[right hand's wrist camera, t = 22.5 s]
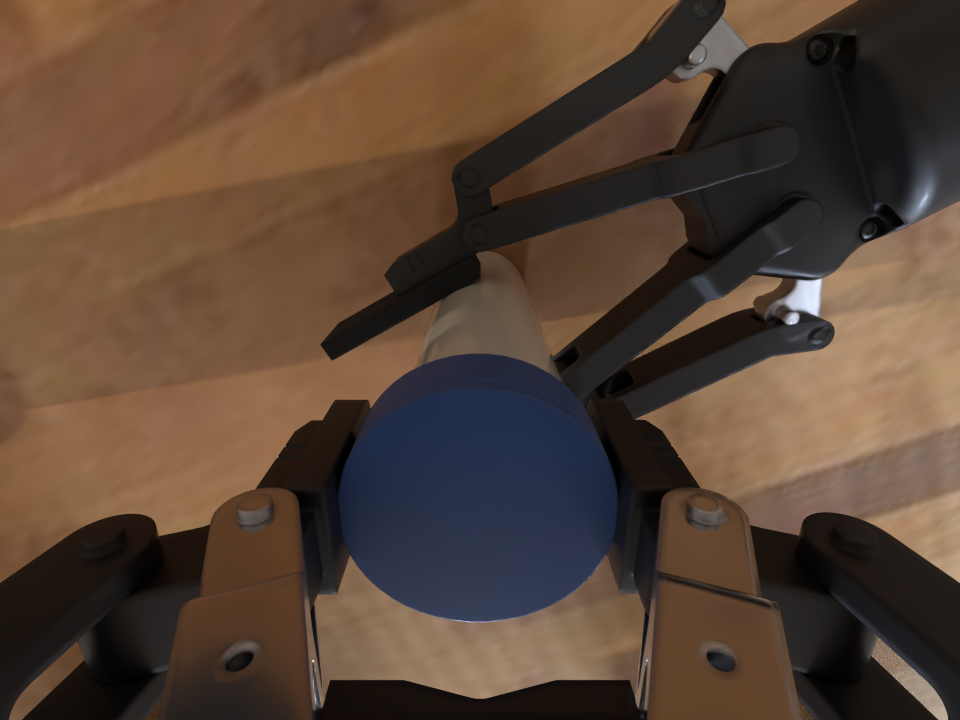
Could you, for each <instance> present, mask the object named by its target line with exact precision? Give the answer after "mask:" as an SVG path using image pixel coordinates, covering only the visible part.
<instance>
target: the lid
mask: <svg viewBox="0 0 960 720" xmlns="http://www.w3.org/2000/svg"><path fill="white" fill-rule="evenodd" d="M618 499H619V491H618V487H617V482H616V477H615V474H614V472H613V469H612V466H611V464H610V461H609V459H608V456H607V454H606V452H605V450H604V447H603V445H602V443H601V440H600V438H599V436H598V433H597V431H596V429H595V427H594V424H593V422H592V420H591V418H590V416H589V414H588V412H587V411H586V409H585V407H584V406H583V404H582V403H581V402H580V400H579V399H578V398H577V397H576V395H575V394H574V393H573V392H572V391H571V390H570V389H569V388H568V387H567V386H566V385H565V384H564V383H562V382H561V381H560V380H558V379H557V378H556V377H554V376H553V375H551V374H550V373H548V372H546V371H544V370H543V369H541V368H539V367H537V366H535V365H532V364H530V363H527V362H525V361H522V360H519V359H515V358H511V357H507V356H503V355H495V354H462V355H454V356H449V357H445V358H441V359H437V360H434V361H431V362H429V363H426V364H424V365H421V366H419V367H417V368H415V369H414V370H412V371H410V372H408V373H406V374H405V375H403V376H402V377H401V378H399V379H398V380H397V381H395V382H394V383H393V384H392V385H391V386H390V387H389V388H388V389H387V390H385V391H384V392H383V393H382V394H381V396H380V397H379V398H378V400H377V401H376V402H375V404H374V405H373V406H372V408H371V410H370V411H369V413H368V415H367V417H366V419H365V421H364V423H363V425H362V427H361V430H360V432H359V434H358V436H357V438H356V441H355V443H354V445H353V447H352V450H351V452H350V454H349V456H348V459H347V461H346V463H345V466H344V469H343V471H342V474H341V477H340V481H339V486H338V502H339V511H340V519H341V527H342V535H343V541H344V543H345V545H346V547H347V549H348V552H349V554H350V555H351V557H352V558H353V560H354V561H355V563H356V565H357V566H358V567H359V569H360V570H361V571H362V572H363V573H364V574H365V576H366V577H367V578H368V579H369V580H370V581H371V582H372V583H373V584H375V585H376V586H377V587H378V588H379V589H380V590H382V591H383V592H384V593H386V594H387V595H389V596H390V597H391V598H393V599H395V600H396V601H398V602H400V603H402V604H404V605H405V606H407V607H410V608H412V609H415V610H417V611H419V612H422V613H425V614H428V615H431V616H435V617H439V618H444V619H449V620H454V621H464V622H492V621H502V620H508V619H513V618H518V617H522V616H525V615H528V614H531V613H535V612H537V611H539V610H542V609H544V608H546V607H549V606H551V605H553V604H554V603H556V602H558V601H560V600H562V599H563V598H565V597H566V596H568V595H569V594H570V593H572V592H573V591H575V590H576V589H577V588H578V587H580V586H581V585H582V584H583V583H584V582H585V581H586V580H587V579H588V578H589V577H590V576H591V575H592V574H593V572H594V571H595V570H596V569H597V568H598V566H599V565H600V563H601V562H602V560H603V559H604V557H605V555H606V554H607V552H608V550H609V547H610V545H611V543H612V541H613V538H614V534H615V526H616V518H617V509H618Z"/></svg>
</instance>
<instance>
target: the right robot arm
mask: <svg viewBox="0 0 960 720" xmlns="http://www.w3.org/2000/svg"><path fill="white" fill-rule="evenodd" d="M370 410H371V408H370V404H369V401H368V400H335V401H334V402H333V404H332V406H331V407H330V409H329V411H328V412H327V414H326V415H325V417H324V419H323V420H312V421H310V422H309V423H307V424H306V425H304V426H303V427H301V428H300V429H298V430H297V431H295V432H294V434H293V435H292V437H291V438H290V439H289V441H288V442H287V444H286V447H284V448H283V450H282V451H281V453H280V454H279V458H276V460H275V461H274V463H273V464H272V466H271V467H270V469H269V470H268V472H267V473H266V475H265V476H264V477H263V479H262V480H261V482H260V483H259V485H258V486H257V488H256V489H255V490H251V491H247V492H244V493H242V494H239V495H237V496H235V497H233V498H231V499H229V500H228V501H226V502H225V503H224V504H222V505H221V506H220V507H219V508H218V509H217V510H216V511H215V513H214V514H213V516H212V519H211V523H210V525H207V526H204V527H200V528H196V529H192V530H187V531H182V532H177V533H172V534H167V535H162V536H159V535H158V531H157V527H156V524H155V522H154V521H153V520H152V519H151V518H150V517H148V516H145V515H141V514H123V515H117V516H112V517H108V518H105V519H101V520H99V521H96V522H93V523H91V524H89V525H86V526H84V527H82V528H80V529H79V530H77V531H75V532H74V533H72V534H70V535H69V536H67V537H66V538H64V539H63V540H62V541H60V542H59V543H57V544H56V545H54V546H53V547H52V548H50V549H49V550H47V551H46V552H44V553H43V554H41V555H40V556H39V557H37V558H36V559H34V560H33V561H31V562H30V563H29V564H27V565H26V566H24V567H23V568H21V569H20V570H18V571H17V572H16V573H14V574H13V575H11V576H10V577H8V578H7V579H5V580H4V581H3V582H1V583H0V720H9V716H10V713H11V710H12V708H13V706H14V704H15V702H16V700H17V699H18V697H19V696H20V695H21V693H22V692H23V691H24V690H25V688H26V687H27V686H28V685H29V684H30V683H31V682H33V681H34V680H35V679H36V678H37V677H38V676H39V675H40V674H41V673H42V672H44V671H45V670H46V669H47V668H48V667H49V666H50V665H51V664H52V663H54V662H55V661H56V660H57V659H58V658H59V657H60V656H61V655H62V654H63V653H65V652H66V651H67V650H68V649H69V648H70V647H71V646H72V645H73V644H75V643H76V642H77V641H78V644H79V646H80V649H81V651H82V654H83V657H84V659H85V660H84V661H83V662H82V663H81V664H80V665H79V666H78V667H77V668H76V669H75V670H74V671H73V672H71V673H70V674H69V675H68V676H67V677H66V678H65V679H64V680H63V681H62V682H61V683H60V684H59V685H58V686H57V687H56V688H55V689H54V690H53V691H52V692H51V693H49V694H48V695H47V696H46V697H45V698H44V699H43V700H42V701H41V702H40V703H39V704H38V705H37V706H36V707H35V708H34V709H33V710H32V711H31V712H30V713H29V714H27V715H26V716H25V717H24V718H23V719H22V720H145V719H146V717H147V716H148V715H149V714H150V712H151V711H152V710H153V709H154V708H155V706H156V705H157V704H158V703H159V702H160V700H161V699H162V702H161V707H160V712H159V717H158V720H802V717H801V712H800V707H799V702H798V699H799V700H800V702H801V703H802V704H803V705H804V706H805V708H806V709H807V710H808V711H809V712H810V714H811V715H812V716H813V717H814V719H815V720H938V719H937V718H936V717H935V716H934V715H933V714H931V713H930V712H929V711H928V710H927V709H926V708H925V707H924V706H923V705H922V704H921V703H920V702H919V701H918V700H917V699H916V698H915V697H914V696H913V695H912V694H911V693H909V692H908V691H907V690H906V689H905V688H904V687H903V686H902V685H901V684H900V683H899V682H898V681H897V680H896V679H895V678H894V677H893V676H892V675H891V674H890V673H889V672H887V671H886V670H885V669H884V668H883V667H882V666H881V665H880V664H879V663H878V662H877V661H876V660H875V659H874V658H873V657H872V656H871V655H872V652H873V650H874V647H875V644H876V642H877V639H878V637H879V638H880V639H881V640H882V641H883V642H884V643H885V644H887V645H888V646H889V647H890V648H891V649H892V650H893V651H894V652H895V653H897V654H898V655H899V656H900V657H901V658H902V659H903V660H904V661H905V662H906V663H908V664H909V665H910V666H911V667H912V668H913V669H914V670H915V671H916V672H917V673H919V674H920V675H921V676H922V677H923V678H924V679H925V680H926V681H927V682H928V683H929V684H930V685H931V686H932V687H933V688H934V689H935V691H936V692H937V693H938V695H939V696H940V698H941V700H942V701H943V703H944V706H945V708H946V711H947V714H948V720H960V583H959V582H957V581H956V580H954V579H953V578H952V577H950V576H949V575H947V574H946V573H944V572H943V571H942V570H940V569H939V568H937V567H936V566H934V565H933V564H931V563H930V562H929V561H927V560H926V559H924V558H923V557H921V556H920V555H919V554H917V553H916V552H914V551H913V550H911V549H910V548H908V547H907V546H906V545H904V544H903V543H901V542H900V541H898V540H897V539H896V538H894V537H893V536H891V535H890V534H888V533H887V532H885V531H884V530H882V529H880V528H878V527H876V526H875V525H873V524H870V523H868V522H866V521H863V520H861V519H858V518H855V517H851V516H848V515H843V514H838V513H826V512H823V513H815V514H811V515H809V516H807V517H806V518H805V519H804V521H803V523H802V526H801V530H800V534H799V536H798V535H793V534H788V533H783V532H778V531H773V530H768V529H763V528H759V527H755V526H751V525H750V523H749V519H748V516H747V514H746V513H745V511H744V510H743V509H742V508H741V507H740V506H739V505H738V504H736V503H735V502H734V501H732V500H731V499H729V498H727V497H725V496H723V495H721V494H718V493H716V492H713V491H709V490H705V489H701V488H700V487H699V485H698V484H697V482H696V481H695V479H694V478H693V476H692V475H691V473H690V472H689V470H688V469H687V467H686V466H685V464H684V463H683V461H682V460H681V458H678V454H677V452H676V451H675V449H674V448H673V447H671V444H670V442H669V441H668V439H667V438H666V436H665V435H664V433H663V432H662V431H661V430H660V429H658V428H657V427H655V426H654V425H652V424H651V423H649V422H648V421H646V420H634V418H633V417H632V415H631V413H630V412H629V410H628V408H627V407H626V405H625V403H624V402H623V400H621V399H590V400H589V401H588V405H587V412H588V414H589V416H590V418H591V420H592V422H593V424H594V427H595V429H596V431H597V433H598V436H599V438H600V440H601V443H602V445H603V447H604V450H605V452H606V454H607V456H608V459H609V461H610V464H611V466H612V469H613V472H614V474H615V477H616V482H617V487H618V491H619V499H618V509H617V518H616V526H615V534H614V538H613V541H612V543H611V545H610V547H609V550H608V552H607V556H608V559H609V562H610V565H611V568H612V571H613V574H614V577H615V581H616V584H617V587H618V590H619V593H639V595H640V598H641V601H642V604H643V606H644V609H645V612H644V618H643V627H642V637H641V647H640V657H639V667H638V676H637V686H636V696H635V697H634V694H633V690H632V687H631V683H630V680H555V681H551V682H548V683H544V684H540V685H536V686H532V687H528V688H525V689H521V690H517V691H513V692H509V693H506V694H502V695H498V696H494V697H490V698H486V699H474V698H470V697H466V696H462V695H458V694H454V693H451V692H447V691H443V690H439V689H435V688H432V687H428V686H424V685H420V684H416V683H412V682H409V681H405V680H330V683H329V687H328V690H327V694H326V697H325V696H324V686H323V676H322V666H321V657H320V647H319V637H318V627H317V618H316V612H315V605H314V602H315V600H316V597H317V594H337V592H338V589H339V586H340V583H341V580H342V577H343V574H344V571H345V568H346V565H347V562H348V559H349V556H350V554H349V552H348V549H347V547H346V545H345V543H344V541H343V535H342V527H341V519H340V511H339V502H338V486H339V481H340V477H341V474H342V471H343V469H344V466H345V463H346V461H347V459H348V456H349V454H350V452H351V450H352V447H353V445H354V443H355V441H356V438H357V436H358V434H359V432H360V430H361V427H362V425H363V423H364V421H365V419H366V417H367V415H368V413H369V411H370Z"/></svg>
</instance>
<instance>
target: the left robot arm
mask: <svg viewBox="0 0 960 720" xmlns="http://www.w3.org/2000/svg"><path fill="white" fill-rule="evenodd" d="M725 4H726V1H725V0H678V1H677V2H676V3H675V4H673V5H672V6H671V7H670V8H669V9H668V10H666V11H665V12H664V14H663V15H662V16H661V17H660V18H659V20H658V21H657V22H656V23H655V25H654V26H653V27H652V28H651V30H650V31H649V32H648V33H647V34H646V36H645V37H644V38H643V39H642V41H641V42H640V43H639V44H638V46H637V47H636V48H635V49H634V51H633V52H632V53H630V54H629V55H627V56H626V57H624V58H622V59H621V60H619V61H618V62H616V63H615V64H613V65H611V66H610V67H608V68H607V69H605V70H603V71H602V72H600V73H599V74H597V75H596V76H594V77H592V78H591V79H589V80H588V81H586V82H585V83H583V84H581V85H580V86H578V87H577V88H575V89H574V90H572V91H570V92H569V93H567V94H566V95H564V96H563V97H561V98H559V99H558V100H556V101H555V102H553V103H552V104H550V105H548V106H547V107H545V108H544V109H542V110H541V111H539V112H537V113H536V114H534V115H533V116H531V117H530V118H528V119H526V120H525V121H523V122H522V123H520V124H519V125H517V126H515V127H514V128H512V129H511V130H509V131H508V132H506V133H504V134H503V135H501V136H500V137H498V138H497V139H495V140H493V141H492V142H490V143H489V144H487V145H486V146H484V147H482V148H481V149H479V150H478V151H476V152H474V153H473V154H471V155H470V156H468V157H467V158H465V159H463V160H462V161H460V162H459V163H458V164H457V165H456V166H455V168H454V170H453V173H452V182H453V185H454V190H455V195H456V201H457V207H458V217H457V220H456V221H455V222H454V224H453V225H451V226H450V227H449V228H447V229H445V230H443V231H442V232H440V233H438V234H437V235H435V236H433V237H432V238H430V239H428V240H426V241H425V242H423V243H421V244H420V245H418V246H416V247H415V248H413V249H411V250H409V251H408V252H406V253H404V254H403V255H401V256H399V257H398V258H397V259H396V260H395V262H394V263H393V264H392V265H391V267H390V268H389V270H388V271H387V272H386V274H385V275H384V276H385V277H386V279H387V280H388V282H389V283H390V285H391V286H392V288H393V290H394V292H392V293H390V294H389V295H387V296H385V297H383V298H382V299H380V300H378V301H376V302H375V303H373V304H371V305H369V306H368V307H366V308H364V309H362V310H361V311H359V312H357V313H355V314H354V315H352V316H350V317H348V318H347V319H345V320H343V321H342V322H340V323H338V325H337V326H336V327H335V328H334V329H333V330H332V332H331V333H330V334H329V335H328V336H327V337H326V339H325V340H324V341H323V342H322V343H321V344H320V345H321V346H322V348H323V349H324V350H325V352H326V353H327V355H328V356H329V357H330V359H331V360H334V359H336V358H338V357H340V356H341V355H343V354H345V353H347V352H348V351H350V350H352V349H354V348H356V347H357V346H359V345H361V344H363V343H365V342H366V341H368V340H370V339H372V338H373V337H375V336H377V335H379V334H381V333H382V332H384V331H386V330H388V329H390V328H391V327H393V326H395V325H397V324H398V323H400V322H402V321H404V320H406V319H407V318H409V317H411V316H413V315H415V314H416V313H418V312H420V311H422V310H423V309H425V308H427V307H429V306H431V305H432V304H434V303H436V302H438V301H440V300H441V299H443V298H445V297H447V296H448V295H450V294H452V293H453V292H455V291H457V290H459V289H461V288H463V287H465V286H466V285H468V284H470V283H472V282H473V281H475V280H477V279H479V278H481V263H480V261H479V259H478V257H477V256H476V254H477V253H479V252H485V251H488V250H491V249H495V248H498V247H501V246H504V245H508V244H511V243H514V242H518V241H521V240H524V239H528V238H531V237H534V236H537V235H541V234H544V233H547V232H551V231H554V230H557V229H561V228H564V227H567V226H571V225H574V224H577V223H580V222H584V221H587V220H590V219H594V218H597V217H600V216H604V215H607V214H610V213H613V212H617V211H620V210H623V209H627V208H630V207H633V206H637V205H640V204H643V203H647V202H650V201H653V200H657V199H664V198H670V197H671V199H672V201H673V202H674V203H675V204H676V206H677V207H678V208H679V209H680V210H681V212H682V213H683V214H684V219H685V229H686V236H687V239H688V242H687V243H686V244H684V245H683V246H682V247H681V248H679V249H678V250H677V251H676V252H675V253H674V254H672V255H671V257H670V258H669V260H668V263H667V264H666V265H665V266H664V267H663V268H662V269H661V270H659V271H658V272H657V273H656V274H654V275H653V276H652V277H651V278H650V279H648V280H647V281H646V282H645V283H643V284H642V285H641V286H640V287H638V288H637V289H636V290H635V291H634V292H632V293H631V294H630V295H629V296H627V297H626V298H625V299H624V300H622V301H621V302H620V303H619V304H618V305H616V306H615V307H614V308H613V309H611V310H610V311H609V312H608V313H606V314H605V315H604V316H603V317H602V318H600V319H599V320H598V321H597V322H595V323H594V324H593V325H592V326H590V327H589V328H588V329H587V330H586V331H584V332H583V333H582V334H581V335H579V336H578V337H577V338H576V339H574V340H573V341H572V342H571V343H570V344H568V345H567V346H566V347H565V348H563V349H562V350H561V351H560V352H558V353H557V354H556V355H555V356H553V359H554V361H555V364H556V366H557V369H558V371H559V374H560V376H561V379H562V382H563V383H564V384H565V385H566V386H567V387H568V388H569V389H570V390H571V391H572V392H573V393H574V394H575V395H576V397H577V398H578V399H579V400H580V402H581V403H582V404H583V406H584V407H585V409H586V411H587V405H588V401H589V400H590V399H621V400H623V402H624V403H625V405H626V407H627V408H628V410H629V412H630V413H631V415H632V417H633V418H634V419H636V418H638V417H640V416H643V415H645V414H647V413H649V412H651V411H654V410H656V409H658V408H660V407H662V406H665V405H667V404H669V403H671V402H673V401H676V400H678V399H680V398H682V397H684V396H686V395H689V394H691V393H693V392H695V391H697V390H700V389H702V388H704V387H706V386H708V385H711V384H713V383H715V382H717V381H719V380H721V379H724V378H726V377H728V376H730V375H732V374H735V373H737V372H739V371H741V370H743V369H746V368H748V367H750V366H752V365H754V364H757V363H759V362H761V361H763V360H765V359H767V358H770V357H772V356H778V355H786V354H793V353H800V352H808V351H815V350H819V349H822V348H824V347H826V346H827V345H829V343H830V342H831V341H832V339H833V337H834V334H835V332H834V327H833V325H832V324H831V323H830V322H828V321H826V320H824V319H821V318H820V305H821V294H822V283H823V278H824V277H826V276H828V275H830V274H832V273H833V272H834V271H836V270H837V269H838V268H839V267H840V266H841V265H842V264H843V262H844V261H845V260H846V259H847V258H848V257H849V256H850V255H851V254H852V253H853V252H854V251H855V250H856V249H857V248H859V247H860V246H861V245H863V244H865V243H867V242H869V241H871V240H874V239H876V238H879V237H882V236H885V235H888V234H890V233H893V232H896V231H898V230H901V229H903V228H905V227H908V226H910V225H912V224H914V223H916V222H918V221H920V220H922V219H924V218H926V217H928V216H930V215H932V214H934V213H936V212H938V211H940V210H942V209H944V208H946V207H948V206H950V205H952V204H954V203H956V202H958V201H960V0H858V1H857V2H855V3H853V4H851V5H850V6H848V7H846V8H845V9H843V10H841V11H839V12H838V13H836V14H834V15H833V16H831V17H829V18H827V19H826V20H824V21H822V22H821V23H819V24H817V25H815V26H814V27H812V28H810V29H809V30H807V31H805V32H803V33H802V34H800V35H798V36H797V37H795V38H793V39H791V40H789V41H787V42H782V43H762V44H758V45H755V46H753V47H751V48H750V47H749V46H748V45H747V44H746V43H745V42H744V40H743V39H742V38H741V37H740V36H739V35H738V34H737V33H736V31H735V30H734V29H733V28H732V27H731V26H730V25H729V23H728V22H727V21H726V20H725V19H724V18H723V17H722V14H723V12H724V8H725ZM704 72H705V73H708V74H710V75H712V76H713V77H714V78H713V80H712V82H711V84H710V85H709V87H708V89H707V91H706V93H705V94H704V96H703V98H702V100H701V102H700V104H699V105H698V107H697V109H696V111H695V113H694V114H693V116H692V118H691V120H690V122H689V123H688V125H687V127H686V129H685V131H684V133H683V134H682V136H681V138H680V140H679V142H678V143H677V145H676V147H675V148H673V149H669V150H666V151H663V152H660V153H657V154H653V155H650V156H647V157H644V158H641V159H638V160H635V161H633V162H631V163H628V164H625V165H622V166H619V167H616V168H612V169H609V170H606V171H603V172H600V173H596V174H593V175H590V176H587V177H584V178H580V179H577V180H574V181H571V182H568V183H564V184H561V185H558V186H555V187H552V188H548V189H545V190H542V191H539V192H536V193H532V194H529V195H526V196H523V197H519V198H516V199H513V200H510V201H507V202H503V203H500V204H497V205H494V206H492V203H491V196H490V190H489V187H491V186H493V185H494V184H496V183H498V182H499V181H501V180H502V179H504V178H506V177H507V176H509V175H511V174H512V173H514V172H515V171H517V170H519V169H520V168H522V167H524V166H525V165H527V164H528V163H530V162H532V161H533V160H535V159H536V158H538V157H540V156H541V155H543V154H545V153H546V152H548V151H549V150H551V149H553V148H554V147H556V146H558V145H559V144H561V143H562V142H564V141H566V140H567V139H569V138H571V137H572V136H574V135H575V134H577V133H579V132H580V131H582V130H583V129H585V128H587V127H588V126H590V125H592V124H593V123H595V122H596V121H598V120H600V119H601V118H603V117H605V116H606V115H608V114H609V113H611V112H613V111H614V110H616V109H618V108H619V107H621V106H622V105H624V104H626V103H627V102H629V101H630V100H632V99H634V98H635V97H637V96H639V95H640V94H642V93H643V92H645V91H647V90H648V89H650V88H652V87H653V86H654V85H656V84H657V83H659V82H660V81H662V80H663V79H665V78H666V79H667V80H668V81H670V82H672V83H681V82H684V81H687V80H689V79H692V78H695V77H696V76H698V75H699V74H700V73H704ZM752 275H760V276H769V277H778V278H783V280H782V282H781V284H780V285H779V286H778V288H777V289H775V290H774V291H772V292H770V293H767V294H765V295H762V296H758V297H757V298H756V299H755V300H754V302H753V305H754V308H750V309H745V310H741V311H738V312H735V313H732V314H729V315H727V316H725V317H722V318H720V319H718V320H716V321H714V322H712V323H710V324H708V325H706V326H703V327H701V328H699V329H697V330H695V331H693V332H691V333H689V334H687V335H685V336H683V337H681V338H678V339H676V340H674V341H672V342H670V343H668V344H666V345H664V346H662V347H660V348H658V349H655V350H653V351H651V352H649V353H647V354H645V355H643V356H641V357H639V358H637V359H635V360H632V359H634V358H635V357H636V356H638V355H639V354H640V353H641V352H643V351H644V350H645V349H647V348H648V347H649V346H651V345H652V344H653V343H654V342H656V341H657V340H658V339H660V338H661V337H662V336H663V335H665V334H666V333H667V332H669V331H670V330H671V329H673V328H674V327H675V326H676V325H678V324H679V323H680V322H682V321H683V320H684V319H685V318H687V317H688V316H689V315H691V314H692V313H693V312H695V311H696V310H697V309H698V308H700V307H701V306H702V305H704V304H705V303H707V302H709V301H711V300H717V299H720V298H722V297H724V296H725V295H727V294H728V293H730V292H731V291H732V290H734V289H735V288H736V287H738V286H739V285H740V284H741V283H743V282H744V281H745V280H747V279H748V278H749V277H751V276H752ZM631 360H632V361H631Z"/></svg>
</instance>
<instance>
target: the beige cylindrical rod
mask: <svg viewBox="0 0 960 720" xmlns="http://www.w3.org/2000/svg"><path fill="white" fill-rule="evenodd" d="M476 256H477V257H478V259H479V261H480V263H481V278H479V279H477V280H475V281H473V282H472V283H470V284H468V285H466V286H465V287H463V288H461V289H459V290H457V291H455V292H453V293H452V294H450V295H448V296H447V297H445V298H443V299H441V300H440V301H438V302H436V303H435V305H434V308H433V311H432V314H431V317H430V320H429V324H428V327H427V330H426V333H425V336H424V339H423V342H422V345H421V348H420V351H419V354H418V357H417V360H416V363H415V366H414V369H415V368H417V367H419V366H421V365H424V364H426V363H429V362H431V361H434V360H437V359H441V358H445V357H449V356H454V355H462V354H495V355H503V356H507V357H511V358H515V359H519V360H522V361H525V362H527V363H530V364H532V365H535V366H537V367H539V368H541V369H543V370H544V371H546V372H548V373H550V374H551V375H553V376H554V377H556V378H557V379H558V380H560V381H561V382H562V379H561V376H560V374H559V371H558V369H557V366H556V364H555V361H554V359H553V356H552V353H551V351H550V348H549V346H548V343H547V341H546V338H545V335H544V333H543V330H542V328H541V325H540V323H539V320H538V318H537V315H536V312H535V310H534V307H533V305H532V302H531V300H530V297H529V294H528V292H527V289H526V287H525V284H524V282H523V279H522V277H521V274H520V272H519V271H518V269H517V268H516V266H515V265H514V264H513V263H512V262H511V261H510V260H509V259H507V258H506V257H504V256H502V255H500V254H498V253H495V252H490V251H485V252H479V253H477V254H476ZM414 369H413V370H414ZM562 383H563V382H562Z"/></svg>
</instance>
